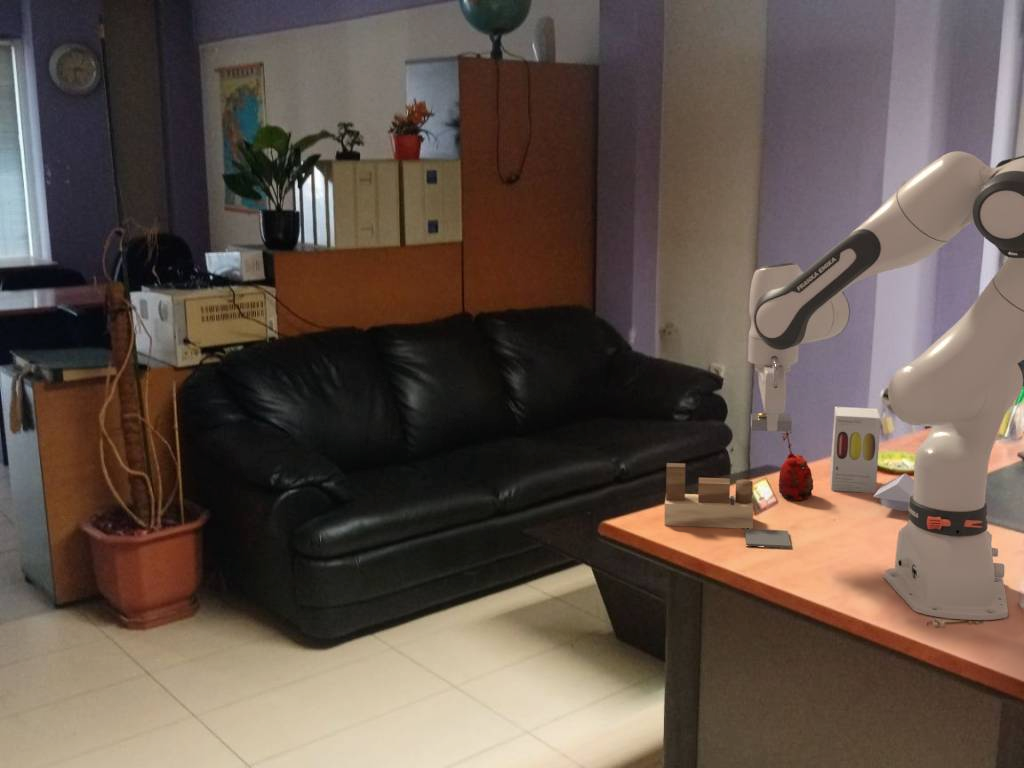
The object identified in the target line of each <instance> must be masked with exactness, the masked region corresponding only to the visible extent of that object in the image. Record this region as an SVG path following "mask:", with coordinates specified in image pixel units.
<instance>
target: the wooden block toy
mask: <svg viewBox="0 0 1024 768" xmlns="http://www.w3.org/2000/svg"><path fill="white" fill-rule="evenodd" d="M665 468H666V469H665V470H666V474H665V475H666V476H665V477H666V478H665V479H666V482H665V484H666V485H665V487H666V488H665V492H666V493H665V498H664V526H670V527H672V526H674V527H675V526H676V527H695V528H697V527H700V528H721V529H722V528H723V529H741V528H749V529H751V528H752V529H754V528H753V527H754V526H753V525H754V524H753V523H754V503H753V485H754V484H753V482H754V481H752V480H751V479H742V478H741V479H737V480H735V495H731V494H730V492H731V491H730V489H731V488H730V487H731V486H730V485H731V481H730V480H731V479H730V478H723V477H721V478H720V477H718V478H717V477H698V494H695V493H692V494H691V493H686V463H681V462H680V463H676V462H674V463H673V462H671V463H670V462H667V463H666V467H665Z"/></svg>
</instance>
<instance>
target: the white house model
mask: <svg viewBox="0 0 1024 768" xmlns="http://www.w3.org/2000/svg"><path fill="white" fill-rule="evenodd" d="M913 485H914V478H912V476H910V475H908V474H907V472H906V473H903V474H900V475H899V476H897V477H895V478H893V479H892V480H890V481H888V482H886V483H883V484H882V485H881V486H880V487H879V489H878V490H876V493H874V495H873V498H877V499H880V503H881V505H884V507H886V508H888V509H891V510H896V511H903V512H909V510H908V508H909V503H910V497H911V496H912V495H913Z"/></svg>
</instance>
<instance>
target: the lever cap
mask: <svg viewBox="0 0 1024 768" xmlns="http://www.w3.org/2000/svg"><path fill="white" fill-rule="evenodd" d="M792 423H793V421H792V418H791V415H790V413H789V414H788V413H782V414H779V417H778V422H777V431H776V432H786V431H787V432H789V433H790V432H792ZM750 428H751V431H754V432H755V431H756V432H769V431H768V430H767V413H765V412H757V413H750Z"/></svg>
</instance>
